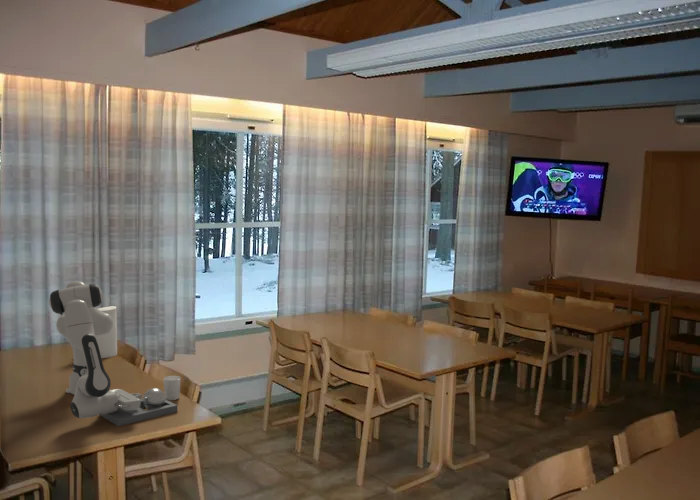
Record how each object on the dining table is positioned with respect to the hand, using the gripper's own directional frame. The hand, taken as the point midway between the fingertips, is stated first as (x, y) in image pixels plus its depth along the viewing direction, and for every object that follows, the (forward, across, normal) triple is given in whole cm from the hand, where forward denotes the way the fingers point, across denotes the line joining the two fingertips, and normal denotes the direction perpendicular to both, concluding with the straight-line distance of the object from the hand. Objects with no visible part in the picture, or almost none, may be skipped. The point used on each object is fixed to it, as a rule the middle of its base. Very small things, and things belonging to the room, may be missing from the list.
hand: (140, 395), depth 300 cm
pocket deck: (-1, 0, +8) cm, 8 cm away
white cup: (+21, +9, +8) cm, 24 cm away
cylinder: (+29, +108, +8) cm, 112 cm away
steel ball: (+6, 0, +3) cm, 7 cm away
